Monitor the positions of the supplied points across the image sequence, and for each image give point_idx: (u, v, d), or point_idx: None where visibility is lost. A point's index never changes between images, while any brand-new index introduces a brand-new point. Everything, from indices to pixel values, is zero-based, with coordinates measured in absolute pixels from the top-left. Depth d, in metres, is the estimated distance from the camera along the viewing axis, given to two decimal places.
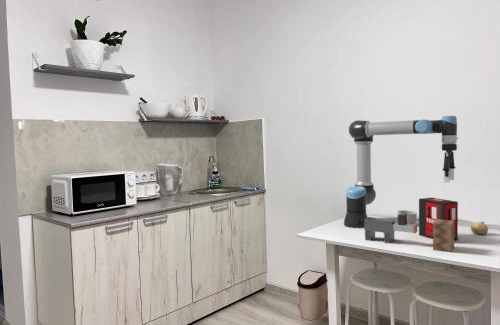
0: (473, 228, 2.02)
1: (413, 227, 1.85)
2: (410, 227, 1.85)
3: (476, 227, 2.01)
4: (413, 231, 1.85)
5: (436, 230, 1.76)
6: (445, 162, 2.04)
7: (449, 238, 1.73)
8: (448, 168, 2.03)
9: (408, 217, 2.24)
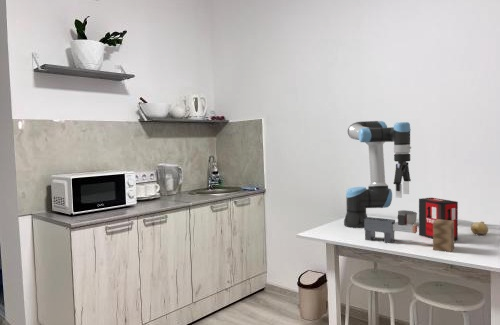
0: (473, 228, 2.02)
1: (413, 227, 1.85)
2: (410, 227, 1.85)
3: (476, 227, 2.01)
4: (413, 231, 1.85)
5: (436, 230, 1.76)
6: (396, 175, 1.81)
7: (449, 238, 1.73)
8: (399, 181, 1.79)
9: (408, 217, 2.24)
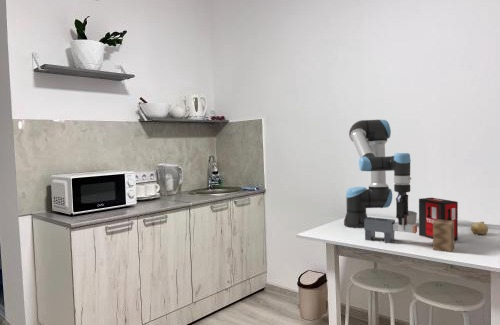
0: (473, 228, 2.02)
1: (413, 227, 1.85)
2: (410, 227, 1.85)
3: (476, 227, 2.01)
4: (413, 231, 1.85)
5: (436, 230, 1.76)
6: (397, 209, 1.84)
7: (449, 238, 1.73)
8: (401, 216, 1.84)
9: (408, 217, 2.24)
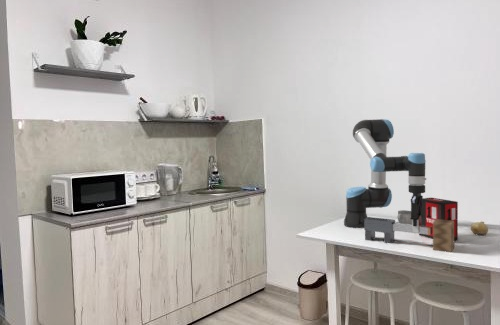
0: (473, 228, 2.02)
1: (428, 229, 1.80)
2: (425, 229, 1.81)
3: (476, 227, 2.01)
4: (428, 233, 1.81)
5: (436, 230, 1.76)
6: (412, 210, 1.80)
7: (449, 238, 1.73)
8: (416, 218, 1.80)
9: (408, 217, 2.24)
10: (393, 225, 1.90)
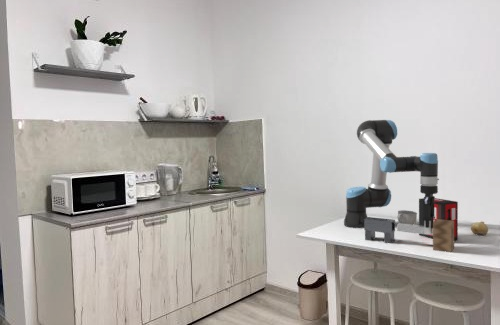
0: (473, 228, 2.02)
1: None
2: None
3: (476, 227, 2.01)
4: None
5: (436, 230, 1.76)
6: (425, 211, 1.77)
7: (449, 238, 1.73)
8: (429, 219, 1.76)
9: (408, 217, 2.24)
10: (404, 226, 1.87)
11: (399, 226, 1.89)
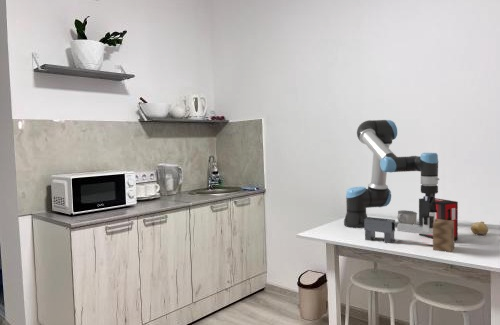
0: (473, 228, 2.02)
1: None
2: None
3: (476, 227, 2.01)
4: None
5: (436, 230, 1.76)
6: (424, 208, 1.75)
7: (449, 238, 1.73)
8: (427, 215, 1.73)
9: (408, 217, 2.24)
10: (405, 226, 1.87)
11: (399, 226, 1.89)
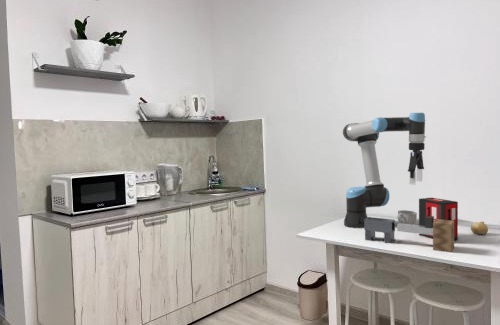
0: (473, 228, 2.02)
1: None
2: None
3: (476, 227, 2.01)
4: None
5: (436, 230, 1.76)
6: (410, 163, 1.91)
7: (449, 238, 1.73)
8: (413, 169, 1.89)
9: (408, 217, 2.24)
10: (405, 226, 1.87)
11: (399, 226, 1.89)
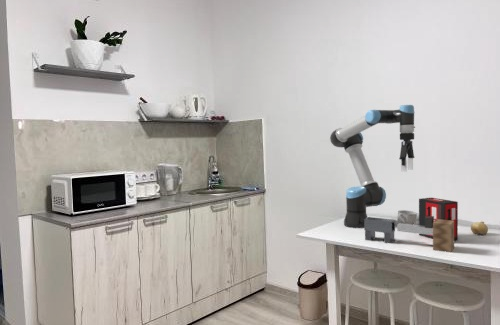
0: (473, 228, 2.02)
1: None
2: None
3: (476, 227, 2.01)
4: None
5: (436, 230, 1.76)
6: (401, 151, 2.05)
7: (449, 238, 1.73)
8: (404, 157, 2.03)
9: (408, 217, 2.24)
10: (405, 226, 1.87)
11: (399, 226, 1.89)
